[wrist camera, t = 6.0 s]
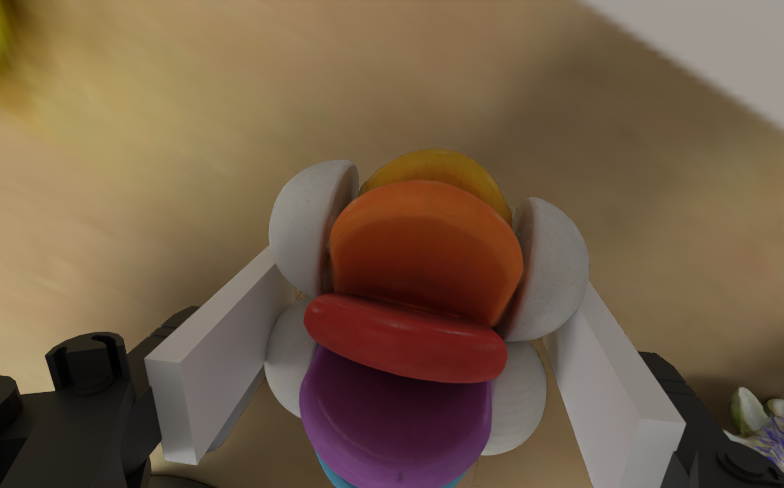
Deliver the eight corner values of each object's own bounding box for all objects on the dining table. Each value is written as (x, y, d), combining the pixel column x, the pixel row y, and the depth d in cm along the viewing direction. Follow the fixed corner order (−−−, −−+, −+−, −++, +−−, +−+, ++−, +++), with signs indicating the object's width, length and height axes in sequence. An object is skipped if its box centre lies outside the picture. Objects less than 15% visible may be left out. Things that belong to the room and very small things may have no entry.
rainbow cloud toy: (587, 164, 13) (743, 260, 6) (507, 417, 16) (546, 657, 9) (308, 118, 13) (159, 156, 6) (290, 372, 17) (182, 568, 10)
